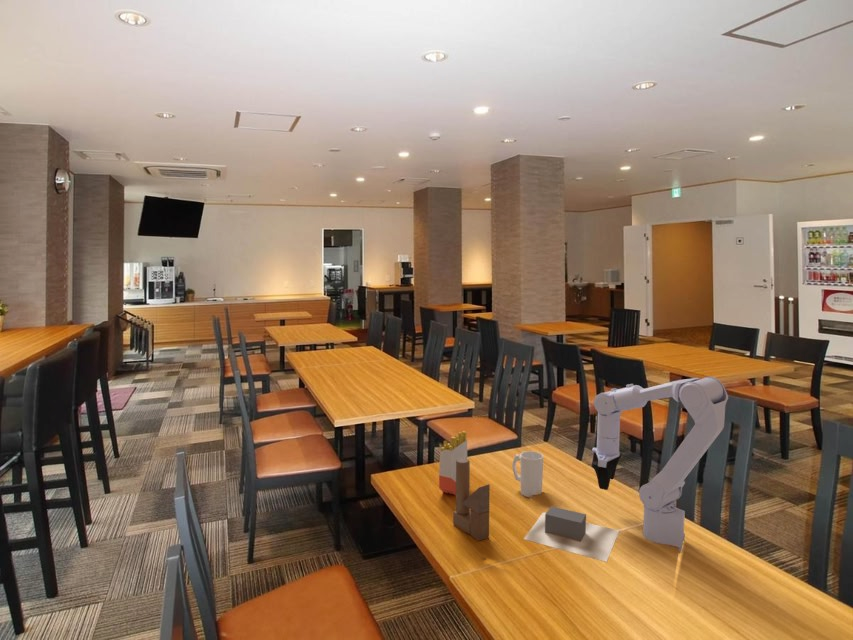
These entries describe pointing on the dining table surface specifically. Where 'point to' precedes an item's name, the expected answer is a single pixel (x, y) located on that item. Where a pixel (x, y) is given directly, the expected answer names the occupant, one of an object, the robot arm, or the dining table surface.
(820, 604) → the dining table surface
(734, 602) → the dining table surface
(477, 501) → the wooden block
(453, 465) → the french fries container
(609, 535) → the board
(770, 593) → the dining table surface
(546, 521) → the block
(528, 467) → the mug
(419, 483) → the dining table surface
